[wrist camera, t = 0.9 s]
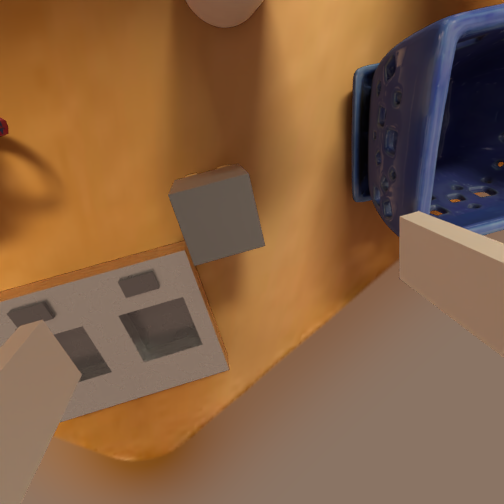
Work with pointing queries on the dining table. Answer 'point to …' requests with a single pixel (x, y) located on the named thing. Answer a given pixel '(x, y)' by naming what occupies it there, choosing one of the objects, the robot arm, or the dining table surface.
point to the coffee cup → (224, 11)
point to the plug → (217, 213)
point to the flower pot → (434, 124)
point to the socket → (124, 325)
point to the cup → (3, 127)
